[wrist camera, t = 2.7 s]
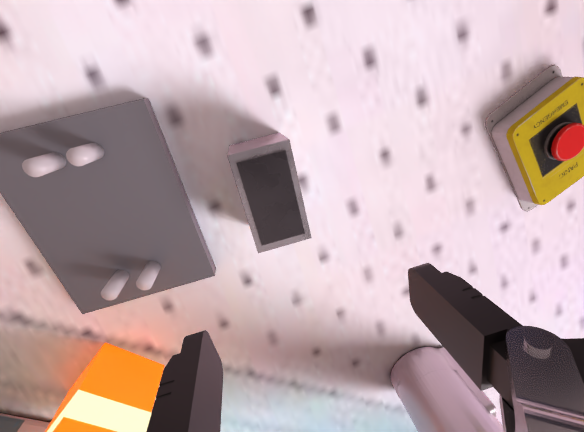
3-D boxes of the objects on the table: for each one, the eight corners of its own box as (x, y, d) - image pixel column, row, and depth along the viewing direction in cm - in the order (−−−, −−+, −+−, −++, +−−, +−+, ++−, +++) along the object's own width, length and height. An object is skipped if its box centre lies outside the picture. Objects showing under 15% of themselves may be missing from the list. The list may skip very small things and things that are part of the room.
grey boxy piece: (279, 132, 28) (289, 139, 22) (298, 214, 32) (311, 238, 26) (229, 145, 28) (227, 155, 22) (254, 226, 31) (258, 254, 26)
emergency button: (599, 55, 27) (625, 174, 32) (551, 61, 31) (582, 166, 36) (514, 122, 28) (554, 226, 33) (479, 119, 32) (520, 212, 37)
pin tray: (148, 98, 25) (130, 98, 21) (215, 268, 32) (212, 292, 28) (-19, 139, 24) (-73, 146, 20) (89, 304, 31) (66, 335, 27)
